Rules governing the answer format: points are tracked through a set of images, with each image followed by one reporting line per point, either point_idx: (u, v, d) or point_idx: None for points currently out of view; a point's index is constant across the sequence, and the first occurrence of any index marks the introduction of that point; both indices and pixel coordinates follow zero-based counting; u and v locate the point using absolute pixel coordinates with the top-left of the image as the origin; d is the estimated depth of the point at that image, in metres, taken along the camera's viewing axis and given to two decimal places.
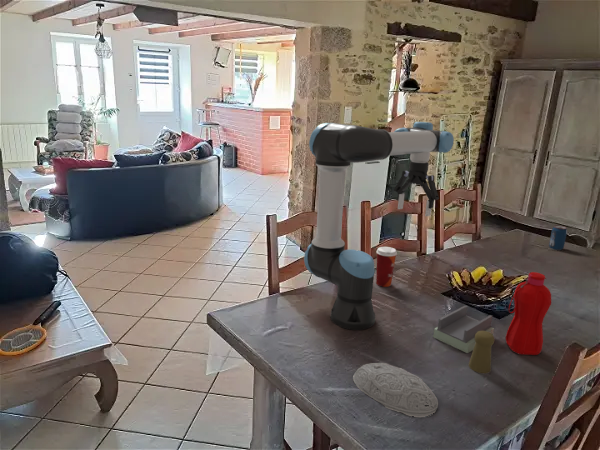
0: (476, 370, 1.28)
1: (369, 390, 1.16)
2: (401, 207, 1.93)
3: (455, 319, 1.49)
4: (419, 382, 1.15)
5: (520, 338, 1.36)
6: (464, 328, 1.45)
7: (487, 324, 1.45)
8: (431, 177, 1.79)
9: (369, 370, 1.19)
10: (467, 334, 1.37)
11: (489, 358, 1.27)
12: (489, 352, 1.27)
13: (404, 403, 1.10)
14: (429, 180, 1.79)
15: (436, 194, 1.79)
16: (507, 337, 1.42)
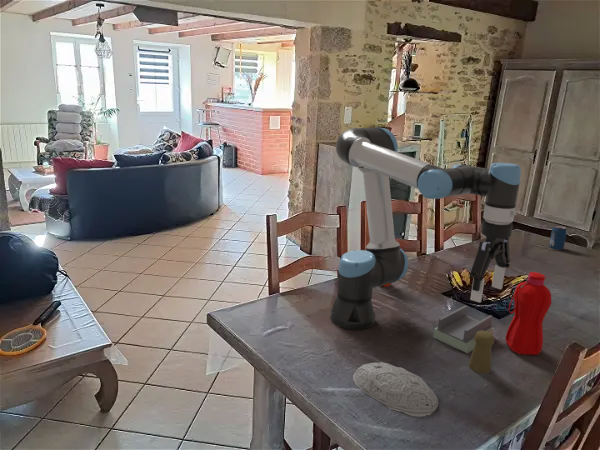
0: (476, 370, 1.28)
1: (369, 390, 1.16)
2: (497, 286, 1.31)
3: (455, 319, 1.49)
4: (419, 381, 1.15)
5: (520, 338, 1.36)
6: (464, 328, 1.45)
7: (487, 324, 1.45)
8: (481, 245, 1.19)
9: (369, 370, 1.20)
10: (467, 334, 1.37)
11: (489, 358, 1.27)
12: (489, 352, 1.27)
13: (405, 403, 1.11)
14: None
15: (476, 271, 1.18)
16: (507, 337, 1.42)
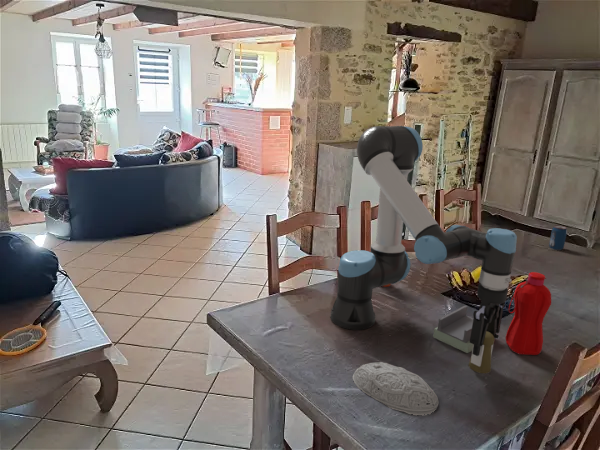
0: (476, 370, 1.28)
1: (369, 390, 1.16)
2: None
3: (455, 319, 1.49)
4: (419, 380, 1.15)
5: (520, 338, 1.36)
6: (464, 328, 1.45)
7: None
8: (475, 315, 1.21)
9: (369, 370, 1.19)
10: (467, 334, 1.37)
11: (489, 358, 1.27)
12: (489, 352, 1.27)
13: (406, 402, 1.11)
14: None
15: (475, 338, 1.23)
16: (507, 337, 1.42)
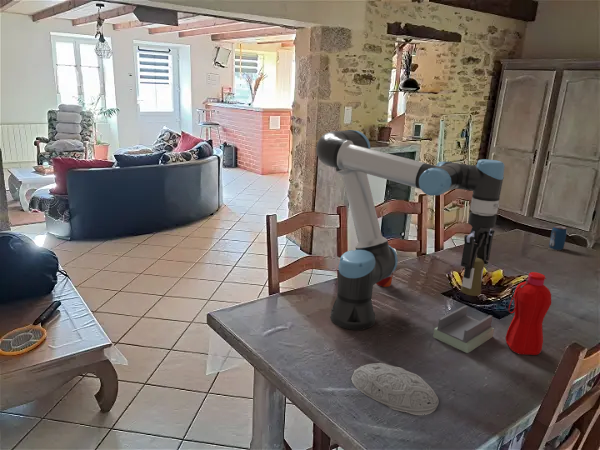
0: (467, 293, 1.39)
1: (370, 391, 1.16)
2: None
3: (455, 319, 1.49)
4: (419, 380, 1.16)
5: (520, 338, 1.36)
6: (464, 328, 1.45)
7: (487, 324, 1.45)
8: (466, 238, 1.32)
9: (368, 371, 1.19)
10: (467, 334, 1.37)
11: (479, 282, 1.38)
12: (479, 276, 1.38)
13: (408, 402, 1.11)
14: None
15: (465, 261, 1.34)
16: (507, 337, 1.42)
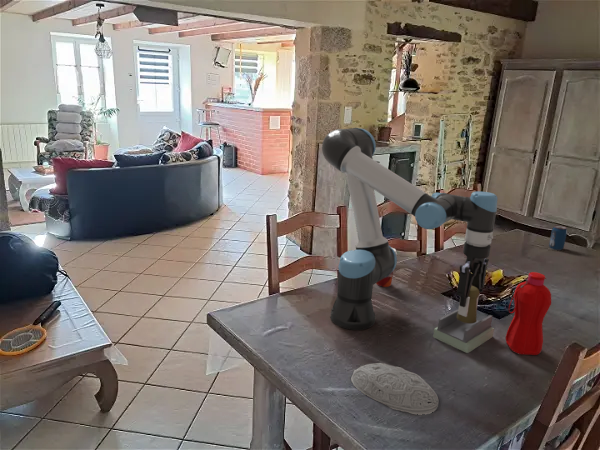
0: (463, 320, 1.42)
1: (370, 392, 1.16)
2: None
3: (455, 319, 1.49)
4: (419, 379, 1.16)
5: (520, 338, 1.36)
6: (464, 328, 1.45)
7: (487, 324, 1.45)
8: (461, 268, 1.36)
9: (368, 371, 1.19)
10: (467, 334, 1.37)
11: (475, 309, 1.41)
12: (474, 304, 1.41)
13: (408, 402, 1.11)
14: None
15: (461, 290, 1.37)
16: (507, 337, 1.42)
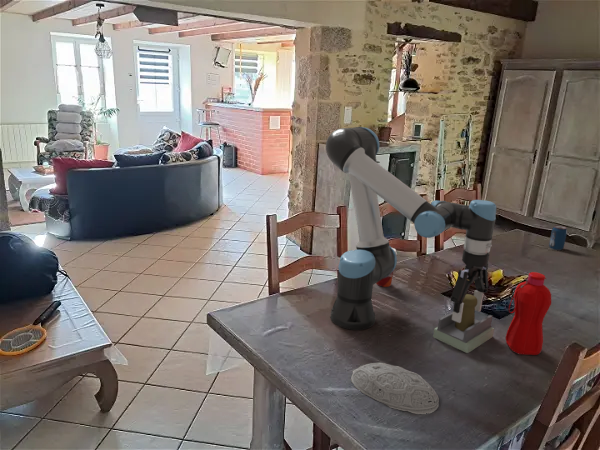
0: (461, 329, 1.43)
1: (371, 391, 1.16)
2: (476, 308, 1.48)
3: None
4: (419, 379, 1.16)
5: (520, 338, 1.36)
6: None
7: (487, 324, 1.45)
8: (460, 273, 1.36)
9: (368, 371, 1.19)
10: (467, 334, 1.37)
11: (473, 318, 1.42)
12: (473, 313, 1.42)
13: (409, 401, 1.11)
14: None
15: (455, 295, 1.36)
16: (507, 337, 1.42)
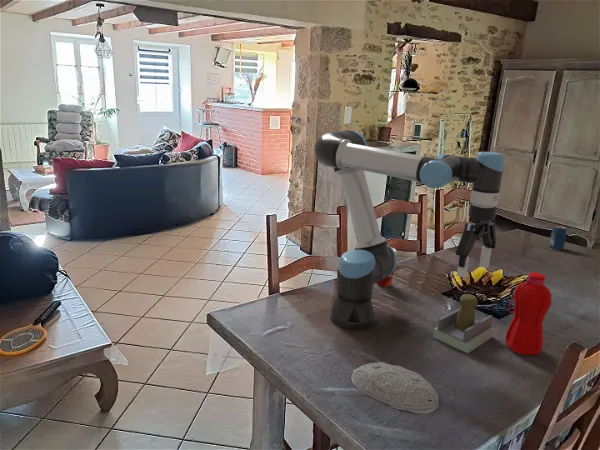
0: (461, 329, 1.43)
1: (371, 391, 1.16)
2: (484, 265, 1.44)
3: (455, 319, 1.49)
4: (419, 378, 1.16)
5: (520, 338, 1.36)
6: None
7: (487, 324, 1.45)
8: (467, 225, 1.32)
9: (369, 371, 1.19)
10: (467, 334, 1.37)
11: (473, 318, 1.42)
12: (473, 313, 1.42)
13: (410, 401, 1.11)
14: None
15: (461, 249, 1.31)
16: (507, 337, 1.42)
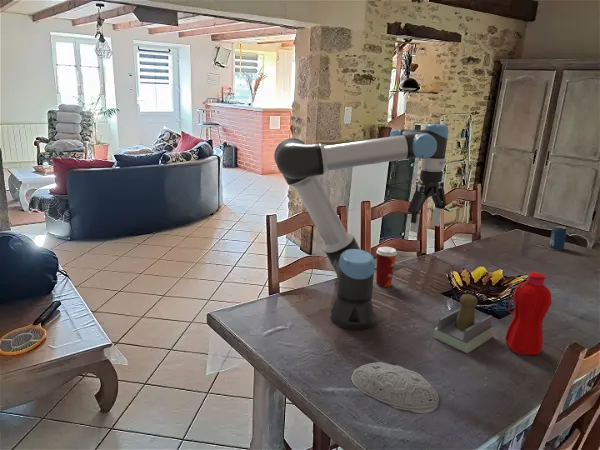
0: (461, 329, 1.43)
1: (371, 391, 1.16)
2: (435, 224, 1.66)
3: (455, 319, 1.49)
4: (419, 377, 1.17)
5: (520, 338, 1.36)
6: None
7: (487, 324, 1.45)
8: (417, 187, 1.54)
9: (369, 371, 1.19)
10: (467, 334, 1.37)
11: (473, 318, 1.42)
12: (473, 313, 1.42)
13: (410, 400, 1.12)
14: None
15: (412, 206, 1.54)
16: (507, 337, 1.42)
